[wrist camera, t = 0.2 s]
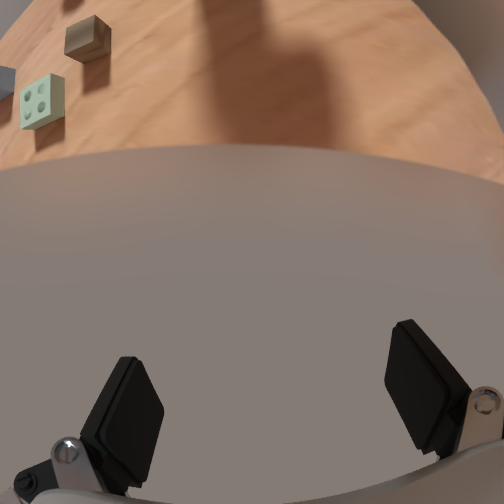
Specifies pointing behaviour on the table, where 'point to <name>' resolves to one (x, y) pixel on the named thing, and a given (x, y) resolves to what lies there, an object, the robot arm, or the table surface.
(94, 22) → the walnut block
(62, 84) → the base brick
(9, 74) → the slate block
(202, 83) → the table surface
